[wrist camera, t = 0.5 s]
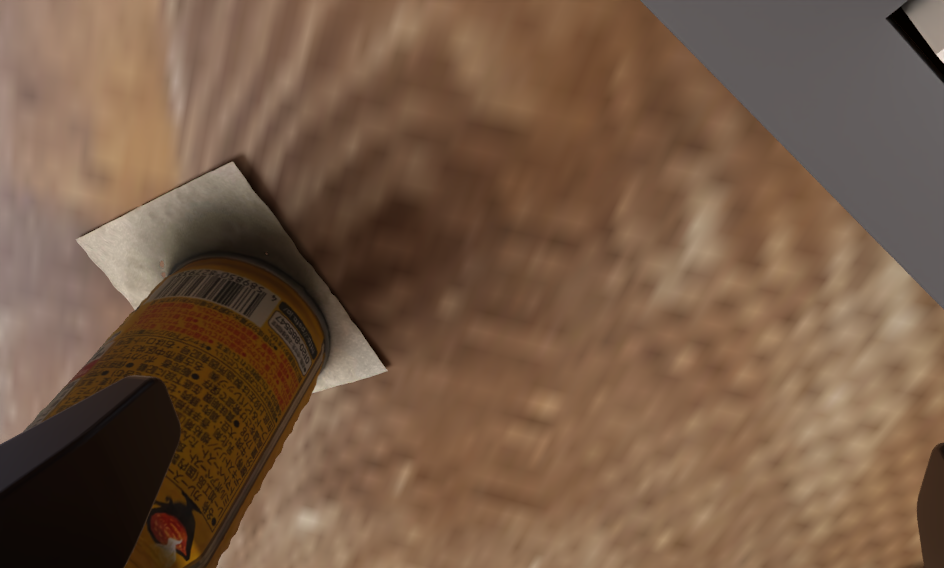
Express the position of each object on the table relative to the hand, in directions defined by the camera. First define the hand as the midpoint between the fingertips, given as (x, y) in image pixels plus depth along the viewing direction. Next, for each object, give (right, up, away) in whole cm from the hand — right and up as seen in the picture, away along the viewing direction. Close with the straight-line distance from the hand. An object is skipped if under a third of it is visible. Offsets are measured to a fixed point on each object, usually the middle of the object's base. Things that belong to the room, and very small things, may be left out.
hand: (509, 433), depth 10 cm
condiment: (-8, +1, +18) cm, 20 cm away
